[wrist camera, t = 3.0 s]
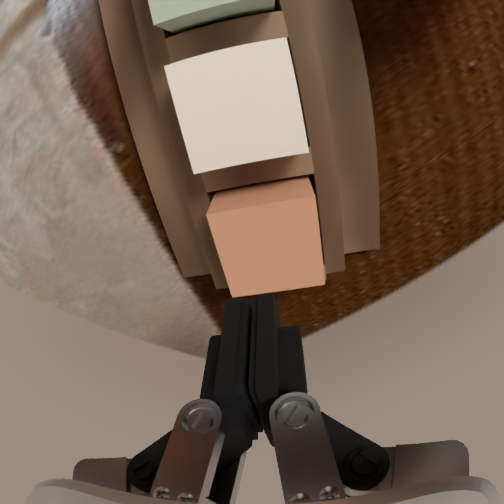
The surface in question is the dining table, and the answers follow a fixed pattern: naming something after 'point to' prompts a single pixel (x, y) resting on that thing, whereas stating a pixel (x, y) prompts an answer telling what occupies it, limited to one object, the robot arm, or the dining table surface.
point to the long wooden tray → (312, 164)
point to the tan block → (268, 236)
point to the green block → (201, 11)
